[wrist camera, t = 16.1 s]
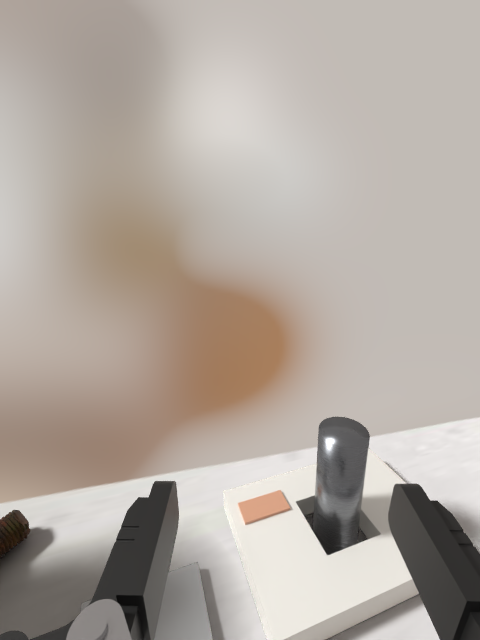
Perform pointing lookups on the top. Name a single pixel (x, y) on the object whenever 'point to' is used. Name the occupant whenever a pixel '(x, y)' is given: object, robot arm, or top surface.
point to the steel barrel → (339, 482)
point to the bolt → (12, 530)
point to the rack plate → (316, 555)
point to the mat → (182, 607)
